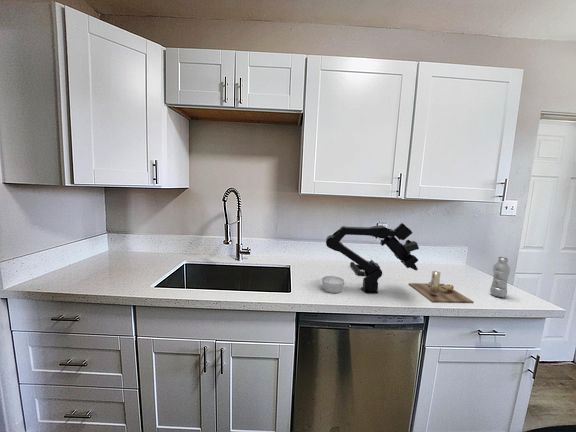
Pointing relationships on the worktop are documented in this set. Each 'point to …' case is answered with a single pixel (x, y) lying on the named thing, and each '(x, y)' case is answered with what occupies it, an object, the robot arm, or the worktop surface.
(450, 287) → the plate
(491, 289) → the plastic bottle
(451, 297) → the walnut board
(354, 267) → the door handle
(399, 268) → the worktop surface
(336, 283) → the ramekin
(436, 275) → the beige lever tool
